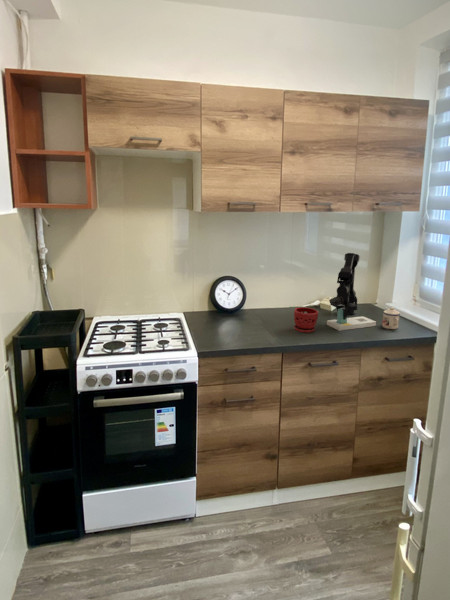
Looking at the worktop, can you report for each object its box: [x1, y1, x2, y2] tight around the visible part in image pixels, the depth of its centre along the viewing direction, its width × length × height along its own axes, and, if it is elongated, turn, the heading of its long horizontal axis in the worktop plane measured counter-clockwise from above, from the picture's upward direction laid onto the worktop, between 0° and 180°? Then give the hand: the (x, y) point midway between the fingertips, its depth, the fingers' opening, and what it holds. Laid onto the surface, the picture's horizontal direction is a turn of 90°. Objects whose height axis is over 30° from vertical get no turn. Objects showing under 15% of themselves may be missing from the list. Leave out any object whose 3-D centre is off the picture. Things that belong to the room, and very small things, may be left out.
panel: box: [326, 316, 377, 332], centre depth 247 cm, size 12×26×3 cm, turn 111°
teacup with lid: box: [382, 307, 401, 330], centre depth 242 cm, size 12×9×12 cm
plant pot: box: [293, 306, 319, 334], centre depth 236 cm, size 13×13×12 cm
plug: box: [336, 308, 348, 324], centre depth 244 cm, size 4×4×10 cm
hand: (342, 318), depth 244 cm, fingers closed on plug, 4 cm apart
